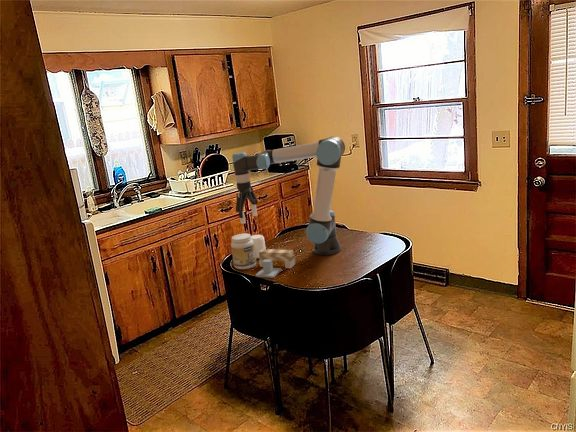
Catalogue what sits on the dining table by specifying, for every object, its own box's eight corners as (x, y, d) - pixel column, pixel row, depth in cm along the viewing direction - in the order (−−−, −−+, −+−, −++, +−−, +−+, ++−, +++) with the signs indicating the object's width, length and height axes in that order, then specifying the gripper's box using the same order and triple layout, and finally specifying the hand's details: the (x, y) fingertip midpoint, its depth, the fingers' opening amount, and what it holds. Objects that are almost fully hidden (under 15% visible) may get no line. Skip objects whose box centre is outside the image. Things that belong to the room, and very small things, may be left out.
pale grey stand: (281, 270, 240) (280, 257, 238) (273, 277, 232) (271, 264, 230) (264, 269, 244) (262, 256, 242) (255, 276, 236) (253, 263, 234)
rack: (295, 263, 247) (294, 257, 246) (290, 268, 241) (289, 262, 240) (265, 262, 254) (264, 256, 253) (259, 266, 248) (259, 260, 247)
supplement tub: (250, 270, 245) (246, 240, 240) (230, 269, 249) (225, 240, 245) (260, 261, 255) (256, 232, 251) (240, 261, 260) (236, 232, 255)
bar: (294, 258, 245) (293, 250, 244) (290, 261, 241) (289, 253, 240) (263, 256, 252) (262, 248, 251) (259, 259, 248) (258, 251, 247)
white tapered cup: (264, 258, 259) (261, 238, 256) (250, 259, 261) (247, 239, 258) (268, 253, 267) (265, 233, 263) (254, 254, 268) (251, 234, 265)
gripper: (248, 176, 261) (254, 212, 266) (224, 187, 239) (231, 226, 245) (260, 176, 257) (265, 212, 263) (237, 187, 236) (243, 226, 241)
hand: (249, 219), depth 254 cm, fingers open, 13 cm apart
